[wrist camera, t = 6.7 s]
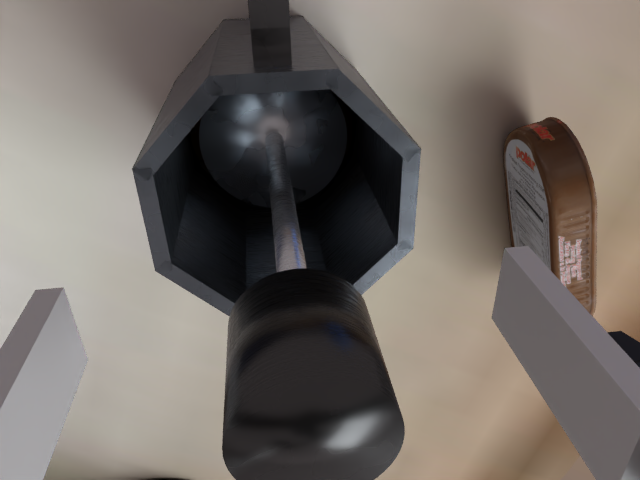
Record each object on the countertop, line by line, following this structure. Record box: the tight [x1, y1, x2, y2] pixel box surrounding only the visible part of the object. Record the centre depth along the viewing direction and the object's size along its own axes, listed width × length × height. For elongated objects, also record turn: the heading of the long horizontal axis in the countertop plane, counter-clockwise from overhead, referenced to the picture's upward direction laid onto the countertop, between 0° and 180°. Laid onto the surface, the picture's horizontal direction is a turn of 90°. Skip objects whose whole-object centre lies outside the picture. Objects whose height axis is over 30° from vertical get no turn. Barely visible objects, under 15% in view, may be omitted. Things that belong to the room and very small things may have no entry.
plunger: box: [199, 89, 405, 480], centre depth 20 cm, size 8×8×20 cm
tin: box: [504, 117, 597, 316], centre depth 35 cm, size 15×3×8 cm, turn 16°
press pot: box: [132, 0, 421, 316], centre depth 26 cm, size 14×11×14 cm
